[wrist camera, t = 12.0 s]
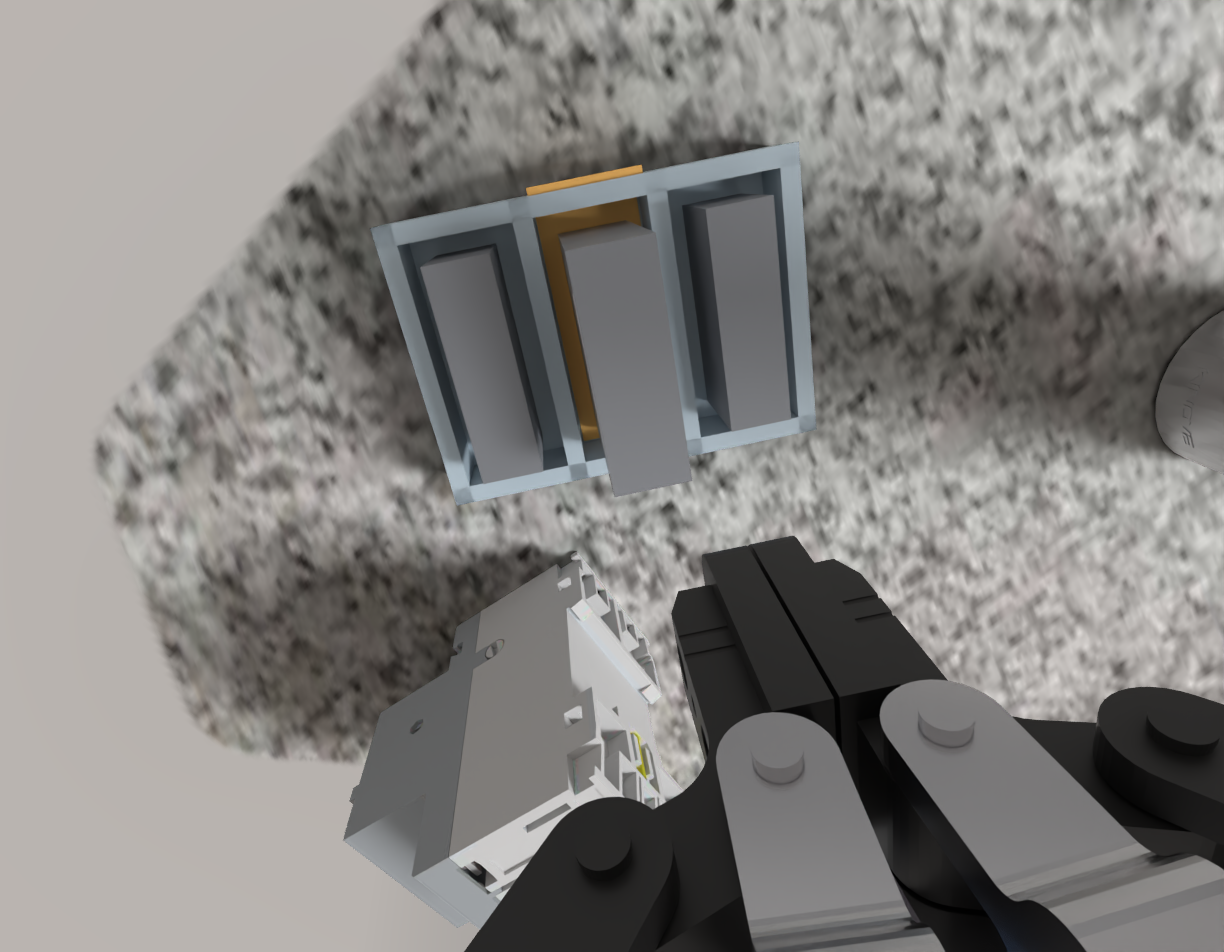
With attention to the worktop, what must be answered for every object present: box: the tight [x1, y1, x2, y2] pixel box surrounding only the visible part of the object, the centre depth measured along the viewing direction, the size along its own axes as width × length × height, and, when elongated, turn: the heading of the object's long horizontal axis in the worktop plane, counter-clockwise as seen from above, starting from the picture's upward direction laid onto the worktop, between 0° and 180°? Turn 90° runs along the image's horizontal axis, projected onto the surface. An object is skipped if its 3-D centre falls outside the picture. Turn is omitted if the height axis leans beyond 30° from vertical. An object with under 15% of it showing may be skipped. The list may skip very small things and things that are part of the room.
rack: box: [370, 142, 816, 505], centre depth 29 cm, size 17×12×6 cm
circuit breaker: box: [344, 552, 684, 929], centre depth 32 cm, size 8×14×15 cm, turn 123°
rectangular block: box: [558, 220, 692, 497], centre depth 27 cm, size 3×9×8 cm, turn 11°
